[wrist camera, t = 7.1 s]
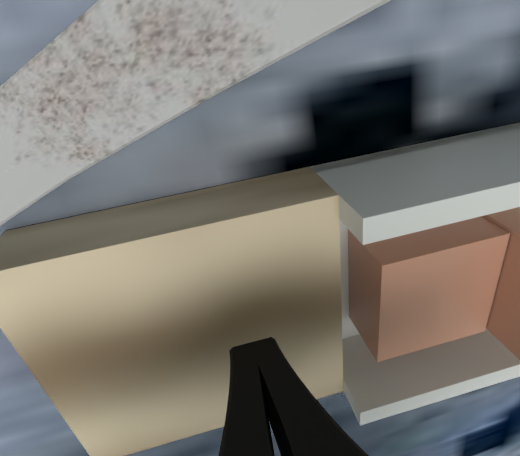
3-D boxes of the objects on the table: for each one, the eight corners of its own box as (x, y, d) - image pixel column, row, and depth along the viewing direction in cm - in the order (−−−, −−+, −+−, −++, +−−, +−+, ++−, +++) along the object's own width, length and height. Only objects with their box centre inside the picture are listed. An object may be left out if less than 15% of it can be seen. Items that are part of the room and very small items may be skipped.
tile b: (443, 291, 16) (485, 331, 14) (348, 316, 15) (377, 362, 13) (457, 201, 14) (510, 233, 12) (347, 227, 13) (381, 265, 11)
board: (321, 345, 17) (343, 391, 15) (105, 405, 16) (95, 464, 14) (309, 166, 12) (338, 195, 10) (4, 230, 11) (-35, 278, 9)
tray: (559, 279, 18) (648, 336, 15) (321, 345, 17) (360, 425, 13) (626, 99, 14) (775, 122, 11) (309, 166, 12) (362, 218, 9)
